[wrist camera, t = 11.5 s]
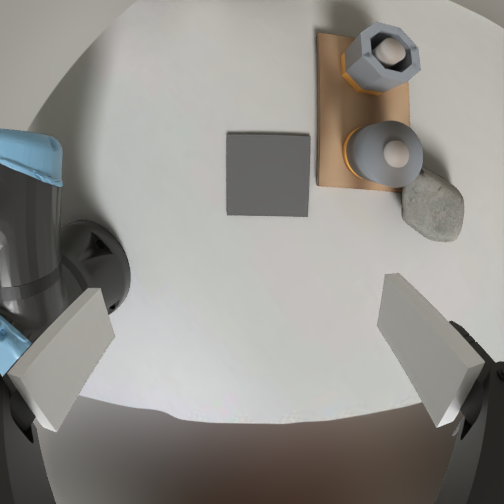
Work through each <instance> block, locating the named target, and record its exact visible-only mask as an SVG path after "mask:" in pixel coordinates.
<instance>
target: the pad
mask: <svg viewBox="0 0 504 504" xmlns="http://www.w3.org/2000/svg"><path fill="white" fill-rule="evenodd" d="M309 176H310V136H292V135H257V134H237V135H227V215H248V216H294V217H308V201H309Z"/></svg>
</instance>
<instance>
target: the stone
mask: <svg viewBox="0 0 504 504" xmlns="http://www.w3.org/2000/svg"><path fill="white" fill-rule="evenodd" d="M463 217H464V200H463V197H462V195H461V193H460V192H459V190H458V189H457V188H456V187H455V186H453V185H452V184H451V183H449V182H448V181H447V180H445V179H444V178H442V177H440V176H439V175H437V174H435V173H433V172H431V171H429V170H427V169H425V168H424V167H422V168H421V171H420V173H419V175H418V176H417V178H416V179H415V180H414V181H413V182H412V183H410V184H408V185H406V186H404V187H403V189H402V218H403V220H404V221H405V222H406V223H407V224H408V225H410V226H411V227H412V228H414V229H415V230H416V231H417V232H419V233H420V234H422V235H423V236H424V237H426V238H428V239H430V240H433V241H439V242H451V241H454V240H456V239H457V237H458V236H459V234H460V231H461V228H462V224H463Z"/></svg>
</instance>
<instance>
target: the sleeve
mask: <svg viewBox="0 0 504 504" xmlns="http://www.w3.org/2000/svg"><path fill="white" fill-rule="evenodd" d="M387 38H393V39H396V40H397V41H399V42H400V43H401V44H402V45H403V47H404V49H405V57H404V59H402V60H401V61H399V62H397V63H396V64H394V65H393V66H391V67H389V68H388V69H385V68H384V67H383V66H382V65H381V63H380V62H379V61H378V60H377V59H376V58H375V57H374V56H373V55H372V52H371V51H372V50H373V49H375V48H376V47H377V46H378V45H379V44H380V43H381V42H383V41H384V40H385V39H387ZM420 70H421V68H420V58H419V50H418V47H417V46H416V45H415V44H414V42H413V41H412V40H411V39H410V38H409V37H408V36H407V35H406V34H405V33H404V31H403V30H402V29H401V28H398V27H395V26H391V25H387V24H383V23H379V22H375V23H374V24H372V25H371V26H370V27H368V28H367V29H365V30H364V31H362V32H361V33H360V34H359V35H358V36H357V37H356V39H355V40H354V41H353V42H352V43H351V44H350V46H349V47H348V48H347V49H346V50H345V52H344V53H343V54H342V55H341V74H342V77H343V78H344V79H345V80H346V81H347V82H348V83H349V84H350V85H351V86H352V87H353V88H354V89H355V90H356V91H357V92H360V93H366V94H372V95H380V94H382V93H384V92H386V91H388V90H390V89H393V88H395V87H397V86H399V85H401V84H404V83H406V82H407V81H408V80H410V79H411V78H412V77H413V76H414V75H415V74H417V73H418V72H419V71H420Z"/></svg>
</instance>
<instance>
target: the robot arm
mask: <svg viewBox="0 0 504 504" xmlns="http://www.w3.org/2000/svg"><path fill="white" fill-rule="evenodd" d="M62 158H63V150H62V146H61V144H60V142H59V141H58V140H57V139H56V138H54V137H52V136H49V135H45V134H40V133H34V132H27V131H19V130H10V129H0V504H56V502H55V500H54V496H53V493H52V490H51V487H50V484H49V481H48V477H47V474H46V470H45V466H44V462H43V458H42V454H41V450H40V445H39V440H38V434H37V429H36V427H35V425H34V423H33V420H34V419H35V417H36V418H37V420H38V421H39V422H40V424H41V425H42V426H43V427H44V428H47V429H49V430H52V431H55V432H57V431H58V430H59V427H60V426H61V424H62V422H63V420H64V419H65V417H66V415H67V414H68V412H69V410H70V408H71V407H72V405H73V403H74V401H75V399H76V398H77V396H78V395H79V393H80V391H81V390H82V388H83V386H84V385H85V383H86V381H87V380H88V378H89V376H90V375H91V373H92V372H93V370H94V368H95V367H96V365H97V364H98V362H99V360H100V359H101V357H102V356H103V354H104V353H105V351H106V349H107V348H108V346H109V345H110V343H111V342H112V340H113V339H114V337H115V334H114V331H113V328H112V325H111V322H110V319H109V314H111V313H113V312H114V311H115V310H116V309H117V308H118V307H119V306H120V305H121V304H122V302H123V301H124V300H125V298H126V296H127V294H128V292H129V288H130V269H129V264H128V261H127V258H126V255H125V253H124V251H123V249H122V247H121V246H120V244H119V243H118V241H117V240H116V239H115V238H114V236H113V235H112V234H111V233H110V232H109V231H107V230H106V229H105V228H103V227H102V226H100V225H98V224H96V223H94V222H90V221H83V220H81V221H75V222H72V223H70V224H68V225H65V226H63V227H62V228H60V206H61V187H63V181H62ZM377 327H378V328H379V330H380V332H381V333H382V335H383V336H384V338H385V339H386V341H387V343H388V344H389V346H390V348H391V349H392V351H393V352H394V354H395V356H396V357H397V359H398V361H399V362H400V364H401V366H402V367H403V369H404V371H405V372H406V374H407V376H408V377H409V379H410V381H411V383H412V384H413V386H414V388H415V390H416V391H417V393H418V395H419V397H420V398H421V400H422V402H423V404H424V405H425V407H426V409H427V411H428V413H429V415H430V416H431V418H432V420H433V422H434V424H435V426H436V427H439V426H442V425H445V424H447V423H449V422H452V421H454V419H455V417H456V416H457V414H458V412H459V411H460V410H461V412H462V413H463V415H464V417H463V419H462V420H461V422H460V423H459V425H458V426H457V428H456V429H455V431H454V432H453V434H452V436H455V435H456V433H457V432H458V435H457V439H456V442H455V446H454V450H453V453H452V456H451V459H450V463H449V466H448V469H447V472H446V475H445V477H444V480H443V483H442V485H441V488H440V491H439V493H438V496H437V498H436V500H435V503H434V504H504V362H501V361H500V362H497V363H495V362H494V360H493V359H492V358H491V357H490V356H489V355H488V354H487V353H486V352H485V350H484V349H483V348H482V347H481V346H480V345H479V344H478V343H477V342H475V340H474V339H473V338H472V337H471V336H469V333H468V332H467V331H466V330H465V329H464V328H463V327H462V326H460V325H458V324H456V323H455V322H453V321H449V322H448V321H447V320H446V319H445V318H444V316H443V315H442V314H441V313H440V312H439V311H438V310H437V309H436V308H435V307H434V306H433V305H432V304H431V303H430V302H429V301H428V300H427V299H426V298H425V297H424V296H423V295H422V294H420V293H419V292H418V291H417V290H416V289H415V288H414V287H413V286H412V285H411V284H410V283H409V282H408V281H407V280H406V279H405V278H404V277H403V276H402V275H400V274H399V273H396V274H385V277H384V285H383V292H382V299H381V305H380V311H379V317H378V322H377ZM1 374H2V375H3V377H2V376H1Z"/></svg>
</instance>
